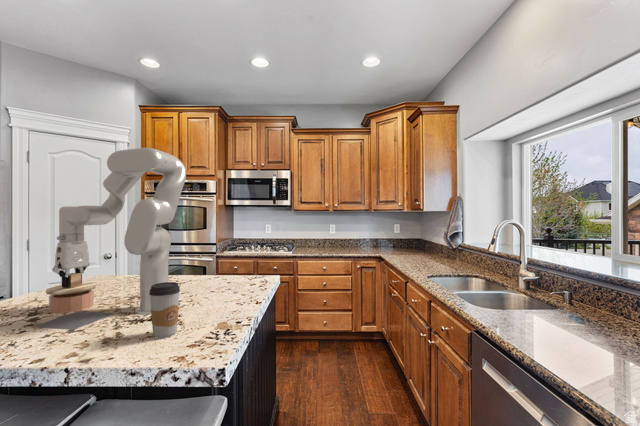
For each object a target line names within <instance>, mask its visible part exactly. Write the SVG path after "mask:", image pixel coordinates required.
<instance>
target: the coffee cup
mask: <svg viewBox="0 0 640 426" xmlns="http://www.w3.org/2000/svg"><path fill="white" fill-rule="evenodd" d="M180 288H181V287H180V285H179V282H175V281H168V282H164V283H158V284H154V285H152V286H151V289H150V293H149V295H150V301H151V314H150V315H151V316H150V317H151V325H152V326H151V327H152V336H153V337H154V338H155V337H156V339H166V338H165V337H167V338H170V337H172V335H173V336H175V335H176V334H177V330H178V321H179V307H180V306H179V303H180V292H181V289H180Z"/></svg>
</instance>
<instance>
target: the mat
mask: <svg viewBox="0 0 640 426" xmlns="http://www.w3.org/2000/svg"><path fill="white" fill-rule="evenodd" d="M116 314H117V313H114V312H101V311H87V310H86V311H84V310H80V311H74V312H71V313H69V314H66V315H62V316H60V317H57V318H53V319H50V320H48V321H44V322H42V323H38V324H35V325H32V326H31V328H46V329H57V330H58V329H59V330H71V331H74V330H77V329H79V328H82V327H84V326H87V325H90V324H93V323H94V322H98V321H100V320H103V319H106V318H108V317H111V316H114V315H116Z"/></svg>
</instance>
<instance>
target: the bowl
mask: <svg viewBox="0 0 640 426" xmlns="http://www.w3.org/2000/svg"><path fill="white" fill-rule="evenodd" d="M94 297H95V296H94V290H93V289H91V290H88V291H84V292H78V293H71V294H61V295H49V296H48V312H49V313H50V314H67V313H75V312H78V311H84V310H86V309H90V308H91V307H93V306H94V305H95V304H94V303H95V302H94Z"/></svg>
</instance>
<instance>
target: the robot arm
mask: <svg viewBox="0 0 640 426" xmlns="http://www.w3.org/2000/svg"><path fill="white" fill-rule="evenodd" d="M106 167H107V168H108V170H109V171H110V172H111V173H110V174H108V176H106V178H105V179H104V180H103V181H102V185H103V187H104V189H105V191H107V192H108V193H109V196H108V197H107V199H106V200H105V201H104V202H103V203H102V204H101V205H77V206H70V205H69V206H68V205H67V206H61V207H59V211H58V235H57V236H56V239H57V241H58V242H57V244H56V248H55V249H56V250H55V255H54V256H55V257H54V266H53V268H52V269H51V271H52V272H53V273H56V274H57V275H58V276H59V277H60V278H61V285H62V287H67V288H68V287H70V277H68V276H69V274H70V272H71V271H70V269H74V273H81V284H82V283H83V274H84V273H85V271H86V269H87V268H88V267H90V265H91V264H90V256H89V255H90V253H89V247H88V243H87V241H86V240H85V226H99V225H102V226H103V225H107V224H109V223H110V222H112V221H113V220H115V219H116V217H117V216H118V215H119V214H120V212H121V211H122V210H123V208H124V205H125V202H126V195H127V194H128V193H129V192H130V190H131V189H132V188H133V187H134V186H135V185H136V183H137V182H138V181H140V179H141V178H142V177H143V176H144V175H145V174H146V173H153V174H157V175H161V176H162V178H161V180H160V181H159V182H158V184H157V186H156V188H155V191H154V192H155V193H154V195H153V198H144V199H141V200H140V201H138V202H137V203H136V204H135V205H134V207H133V209H132V212H131V215H130V218H129V221H128V225H127V229H126V231H125V234H124V242H123V243H124V247H125V250H126V251H127V252H128V253H129V254H131V255H134V256H139V255H140V256H141V258H140V262H139V307H136V308H135V310H134V313H135V314H137V315H145V316H146V315H151V301H150V295H149V293H150V289H151V286H152V285H154V284H158V283H164V282H169V258H170V250H171V249H170V248H171V242H172V239H171V234H170V232H169V231H168V230H166V229H165V228H164V227H160V226H161V225H163V226H164V225H166V224H170V223H172V221H173V220H174V218H175V215H176V212H177V208H178V206H179V201H180V198H181V195H182V191H183V188H184V185H185V183H186V180H187V178H186V177H187V171H186V166H185V165H184V163H183V162H182V161H181V160H180V159H179V158H178V157H176V156H175V155H172V154H171V153H168V152H165V151H162V150H159V149H156V148H154V147H153V148H152V147H138V148H131V149H123V150H122V149H119V150H116V151H114V152H112V153H111V154H110V155H109V156H108V157H107V160H106Z"/></svg>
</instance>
